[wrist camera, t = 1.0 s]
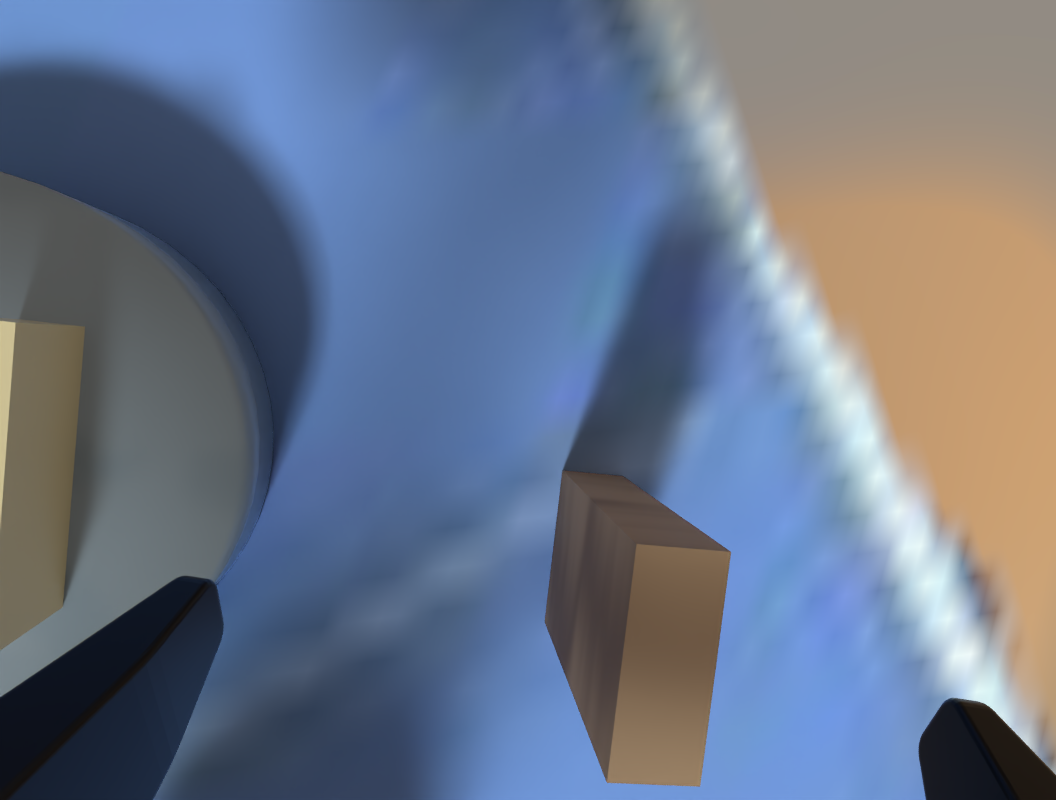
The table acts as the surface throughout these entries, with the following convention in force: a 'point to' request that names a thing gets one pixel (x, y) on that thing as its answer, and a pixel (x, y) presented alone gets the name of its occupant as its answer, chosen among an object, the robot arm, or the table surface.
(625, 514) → the tall brown wooden block
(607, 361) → the table surface
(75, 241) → the blue-grey bowl
